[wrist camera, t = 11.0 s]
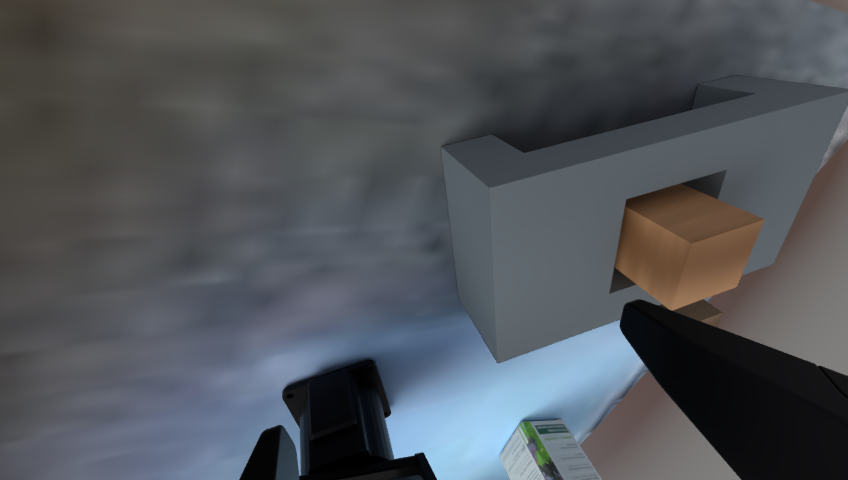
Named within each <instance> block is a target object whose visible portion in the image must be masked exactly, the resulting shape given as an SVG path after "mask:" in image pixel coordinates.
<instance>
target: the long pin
mask: <svg viewBox="0 0 848 480" xmlns="http://www.w3.org/2000/svg"><path fill="white" fill-rule="evenodd" d="M764 220H765V219H763V218H760V217H758V216H756V215H753V214H751V213H749V212H746V211H744V210H742V209H739V208H737V207H735V206H732V205H730V204H727V203H725V202H723V201H720V200H718V199H716V198H713V197H711V196H709V195H706V194H704V193H702V192H699V191H697V190H694V189H692V188H690V187H687V186H685V185H683V184H676V185H673V186H670V187H666V188H663V189H660V190H656V191H653V192H649V193H646V194H643V195H639V196H636V197H633V198H629V199H626V203H625V208H624V214H623V220H622V225H621V231H620V237H619V242H618V248H617V254H616V259H615V265H614V267H615V268H616V269H617V270H619V271H620V272H621V273H623V274H624V275H625V276H626V277H628V278H629V279H630V280H632V281H633V282H634V283H636V284H637V285H638V286H639V287H641V288H642V289H643V290H645V291H646V292H647V293H649V294H650V295H651V296H652V297H654V298H655V299H656V300H658V301H659V302H660V303H661V304H663V305H664V306H665V307H667V308H668V309H669V310H675V309H678V308H681V307H683V306H686V305H689V304H691V303H694V302H697V301H700V300H702V299H705V298H708V297H711V296H713V295H716V294H719V293H721V292H724V291H727V290H730V289H732V288H735V287H737V285H738V282H739V280H740V278H741V275H742V273H743V270H744V268H745V266H746V263H747V261H748V259H749V256H750V254H751V251H752V249H753V247H754V244H755V242H756V239H757V237H758V235H759V232H760V230H761V227H762V225H763V223H764Z"/></svg>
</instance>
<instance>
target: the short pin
mask: <svg viewBox="0 0 848 480" xmlns="http://www.w3.org/2000/svg"><path fill="white" fill-rule="evenodd" d="M658 306H661V307H664V308H666V309H668V308H667V307H665V306H664V305H663V304H661V305H658ZM672 311H674V312H677V313H680V314H683V315H685V316H688V317H691V318H693V319H696V320H699V321H701V322H704V323H707V324H709V325H712V326H715V327H717V325H718V323H719V320H720V318H721V315H722V312H721V311H720V310H718V309H717V308H715V307H714V306H712V305H711V304H709V303H708V302H706V301H705V300H703V299H702V300H700V301H697V302H694V303H691V304H689V305H686V306H683V307H681V308H678V309H675V310H672Z"/></svg>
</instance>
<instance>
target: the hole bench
mask: <svg viewBox="0 0 848 480" xmlns="http://www.w3.org/2000/svg"><path fill="white" fill-rule="evenodd" d="M847 105H848V89H845V88H837V87H829V86H821V85H813V84H805V83H797V82H789V81H781V80H773V79H765V78H757V77H749V76H741V75H735V76H731V77H727V78H722V79H718V80H714V81H710V82H706V83H702V84H698V87H697V91H696V95H695V99H694V103H693V107H692V110H690V111H686V112H682V113H679V114H675V115H671V116H667V117H663V118H659V119H655V120H651V121H647V122H643V123H639V124H636V125H632V126H628V127H624V128H620V129H616V130H612V131H608V132H604V133H600V134H596V135H593V136H589V137H585V138H581V139H577V140H573V141H569V142H565V143H561V144H557V145H554V146H550V147H546V148H542V149H538V150H534V151H530V152H526V153H523V152H521V151H520V150H518V149H516V148H514V147H513V146H511V145H509V144H508V143H506V142H504V141H502V140H501V139H499V138H497V137H495V136H494V135H492V134H491V135H487V136H483V137H479V138H475V139H470V140H466V141H462V142H458V143H454V144H450V145H446V146H442V147H441V152H442V161H443V170H444V178H445V187H446V195H447V204H448V212H449V221H450V229H451V238H452V246H453V255H454V263H455V272H456V280H457V289H458V298H459V300H460V302H461V303H462V305H463V307H464V308H465V310H466V312H467V313H468V315H469V317H470V318H471V320H472V322H473V323H474V325H475V327H476V328H477V330H478V332H479V333H480V335H481V337H482V338H483V340H484V342H485V343H486V345H487V347H488V348H489V350H490V352H491V353H492V355H493V357H494V359H495V360H496V362H497V364H498V363H501V362H503V361H506V360H509V359H512V358H514V357H517V356H520V355H523V354H526V353H528V352H531V351H534V350H537V349H539V348H542V347H545V346H548V345H550V344H553V343H556V342H559V341H562V340H564V339H567V338H570V337H573V336H575V335H578V334H581V333H584V332H586V331H589V330H592V329H595V328H598V327H600V326H603V325H606V324H609V323H611V322H614V321H617V320H620V319H621V316H622V311H623V307H624V305H625V304H626V303H628V302H630V301H633V300H636V299H642V300H645V301H648V302H650V303H653V304H656V305H661V303H660V302H659V301H658V300H656V299H655V298H654V297H652V296H651V295H650V294H649V293H647V292H646V291H645V290H643V289H642V288H641V287H639V286H638V285H637V284H636V283H634V282H633V281H632V280H630V279H629V278H628V277H626V276H625V275H624V274H623V273H621V272H620V271H619V270H617V269H616V268H615V267H614V265H615V259H616V254H617V248H618V242H619V237H620V231H621V225H622V220H623V214H624V208H625V203H626V199H629V198H633V197H636V196H639V195H643V194H646V193H649V192H653V191H656V190H660V189H663V188H666V187H670V186H673V185H676V184H683V185H685V186H687V187H690V188H692V189H694V190H697V191H699V192H702V193H704V194H706V195H709V196H711V197H713V198H716V199H718V200H720V201H723V202H725V203H727V204H730V205H732V206H735V207H737V208H739V209H742V210H744V211H746V212H749V213H751V214H753V215H756V216H758V217H760V218H763V219H765V220H764V223H763V225H762V227H761V230H760V232H759V235H758V237H757V239H756V242H755V244H754V247H753V249H752V251H751V254H750V256H749V259H748V261H747V263H746V266H745V268H744V270H743V273H742V275H744V274H747V273H750V272H752V271H755V270H758V269H761V268H763V267H766V266H769V265H772V264H773V263H774V261H775V259H776V257H777V255H778V253H779V250H780V248H781V246H782V244H783V242H784V240H785V238H786V235H787V233H788V231H789V229H790V227H791V225H792V223H793V221H794V218H795V216H796V214H797V212H798V210H799V208H800V206H801V203H802V201H803V199H804V197H805V195H806V193H807V191H808V188H809V186H810V184H811V182H812V180H813V178H814V176H815V174H816V171H817V169H818V167H819V165H820V163H821V161H822V159H823V157H824V154H825V152H826V150H827V148H828V146H829V144H830V142H831V139H832V137H833V135H834V133H835V131H836V129H837V127H838V124H839V122H840V120H841V118H842V116H843V114H844V112H845V110H846V107H847Z"/></svg>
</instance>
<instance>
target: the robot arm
mask: <svg viewBox="0 0 848 480" xmlns="http://www.w3.org/2000/svg"><path fill="white" fill-rule="evenodd" d="M620 329H621V331H622V333H623V335H624V336H625V338H626V339H627V340H628V342H629V343H630V345H631V346H632V347H633V349H634V350H635V352H636V353H637V354H638V356H639V357H640V359H641V360H642V361H643V363H644V364H645V366H646V367H647V368H648V370H649V371H650V373H651V374H652V375H653V376H654V378H655V379H656V381H657V382H658V383H659V384H660V386H661V387H662V388H663V389H664V391H665V392H666V393H667V394H668V395H669V396H670V397H671V399H672V400H673V401H674V402H675V403H676V404H677V405H678V407H679V408H680V409H681V410H682V411H683V413H684V414H685V415H686V416H687V417H688V418H689V420H690V421H691V422H692V423H693V424H694V425H695V427H696V428H697V429H698V430H699V431H700V432H701V433H702V434H703V436H704V437H705V438H706V439H707V440H708V442H709V443H710V444H711V445H712V446H713V447H714V449H715V450H716V451H717V452H718V453H719V454H720V455H721V457H722V458H723V459H724V460H725V461H726V462H727V464H728V465H729V466H730V467H731V468H732V469H733V471H734V472H735V473H736V474H737V475H738V476H739V478H740V479H741V480H848V376H847V375H844V374H841V373H838V372H835V371H833V370H830V369H828V368H825V367H822V366H817V365H816V364H814V363H811V362H809V361H805V360H803V359H800V358H798V357H795V356H792V355H789V354H787V353H784V352H782V351H779V350H776V349H773V348H771V347H768V346H766V345H763V344H760V343H757V342H754V341H752V340H750V339H747V338H744V337H741V336H739V335H736V334H733V333H730V332H728V331H725V330H723V329H720V328H717V327H715V326H712V325H709V324H707V323H704V322H701V321H699V320H696V319H693V318H691V317H688V316H685V315H683V314H680V313H677V312H674V311H672V310H669V309H666V308H664V307H661V306H658V305H656V304H653V303H650V302H648V301H645V300H642V299H636V300H633V301H630V302H628V303H626V304H625V305H624V307H623V311H622V316H621V320H620ZM282 398H283V400H284V402H285V404H286V405H287V407H288V409H289V410H290V412H291V414H292V416H293V417H294V419H295V421H296V423H297V424H298V426H299V428H300V453H301V476H299V471H298V462H297V453H296V448H295V445H294V443H293V441H292V439H291V438H290V436H289V434H288V433H287V431H286V429H285V428H284V427H283V426H282V425H278V426H275V427H272V428H269V429H266V430H265V431H263V432H262V434H261V435H260V437H259V440H258V442H257V444H256V446H255V448H254V450H253V452H252V454H251V456H250V458H249V461H248V463H247V465H246V467H245V469H244V471H243V473H242V475H241V477H240V479H239V480H437V479H436V477H435V475H434V473H433V471H432V469H431V467H430V465H429V463H428V461H427V459H426V457H425V455H424V453H417V454H415V455H414V456H409V457H403V458H398V459H394V455H393V451H392V447H391V443H390V438H389V434H388V430H387V425H386V421H385V418H387V417H389V416H390V414H391V410H390V406H389V403H388V400H387V397H386V394H385V391H384V388H383V385H382V381H381V378H380V375H379V372H378V369H377V366H376V363H375V361H374V360H366V361H363V362H360V363H357V364H354V365H351V366H348V367H345V368H342V369H339V370H336V371H333V372H330V373H327V374H324V375H321V376H318V377H315V378H312V379H309V380H306V381H303V382H300V383H297V384H294V385H291V386H288V387H286V388H285V389H284V390H283V392H282Z"/></svg>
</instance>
